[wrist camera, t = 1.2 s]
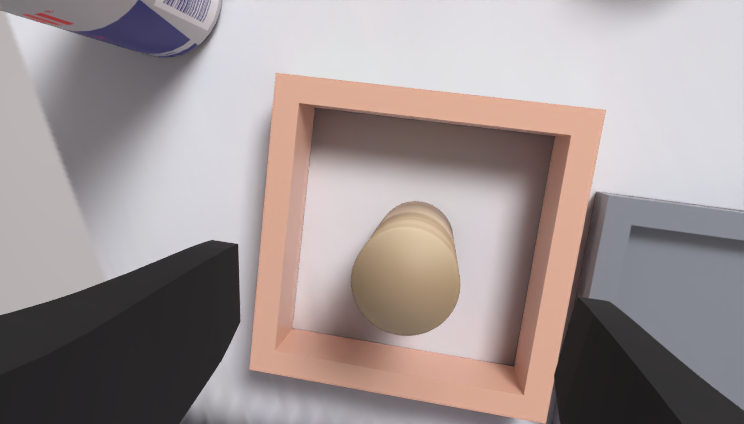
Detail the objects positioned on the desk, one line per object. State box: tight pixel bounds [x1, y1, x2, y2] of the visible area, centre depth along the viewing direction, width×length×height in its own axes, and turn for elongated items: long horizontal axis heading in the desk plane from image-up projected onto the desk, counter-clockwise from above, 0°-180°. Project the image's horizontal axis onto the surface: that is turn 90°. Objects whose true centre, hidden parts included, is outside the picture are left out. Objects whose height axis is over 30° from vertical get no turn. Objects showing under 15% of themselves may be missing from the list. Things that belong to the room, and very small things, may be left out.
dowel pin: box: [351, 201, 460, 336], centre depth 18 cm, size 3×3×7 cm
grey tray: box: [552, 192, 744, 424], centre depth 20 cm, size 16×10×2 cm, turn 173°
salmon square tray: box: [249, 73, 606, 424], centre depth 20 cm, size 12×12×2 cm
